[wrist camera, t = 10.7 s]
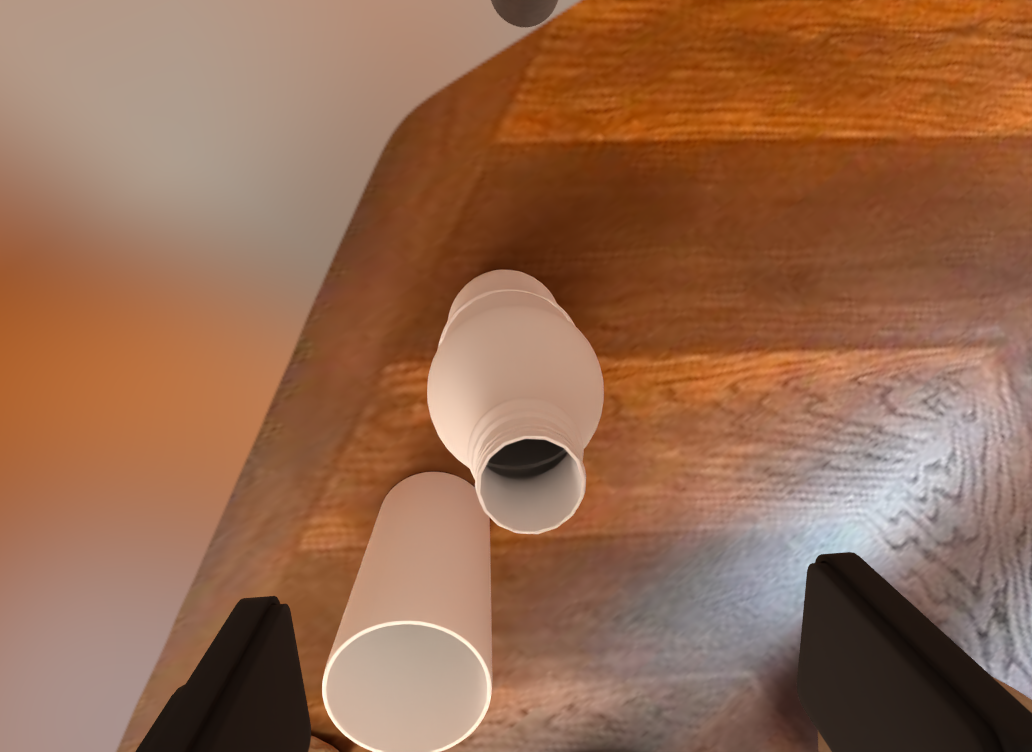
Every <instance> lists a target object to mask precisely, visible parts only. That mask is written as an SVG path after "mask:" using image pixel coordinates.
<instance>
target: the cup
mask: <svg viewBox="0 0 1032 752" xmlns="http://www.w3.org/2000/svg"><path fill="white" fill-rule="evenodd" d="M491 692H492V630H491V570H490V518H489V516H488V515H487V514H486V513H485V512H484V510H483V508H482V505H481V504H480V502H479V499H478V495H477V492H476V488H475V487H473V486H472V485H471V484H470V483H469V482H467V481H465V480H464V479H462V478H460V477H458V476H455V475H452V474H449V473H444V472H424V473H419V474H415V475H413V476H410V477H408V478H406V479H404V480H402V481H401V482H399V483H398V484H397V485H396V486H394V487H393V488H392V489H391V491H390V492H389V493H388V494H387V496H386V497H385V499H384V501H383V503H382V505H381V508H380V511H379V514H378V517H377V520H376V523H375V526H374V529H373V531H372V534H371V537H370V540H369V543H368V546H367V549H366V552H365V554H364V557H363V560H362V563H361V566H360V569H359V572H358V575H357V578H356V580H355V583H354V586H353V589H352V592H351V595H350V598H349V601H348V603H347V606H346V609H345V612H344V615H343V618H342V621H341V624H340V627H339V629H338V632H337V635H336V638H335V641H334V644H333V647H332V650H331V653H330V656H329V659H328V662H327V665H326V668H325V672H324V677H323V684H322V694H323V700H324V704H325V708H326V710H327V712H328V715H329V716H330V718H331V720H332V721H333V723H334V724H335V726H336V727H337V728H338V729H339V730H340V731H341V732H342V733H343V734H344V735H345V736H346V737H347V738H349V739H350V740H352V741H353V742H355V743H356V744H358V745H360V746H362V747H364V748H366V749H368V750H371V751H373V752H440V751H443V750H446V749H448V748H450V747H452V746H454V745H456V744H458V743H459V742H461V741H462V740H464V739H465V738H466V737H467V736H469V735H470V734H471V733H472V732H473V731H474V730H475V729H476V728H477V726H478V725H479V724H480V722H481V721H482V720H483V718H484V716H485V714H486V712H487V709H488V707H489V703H490V699H491Z"/></svg>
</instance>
